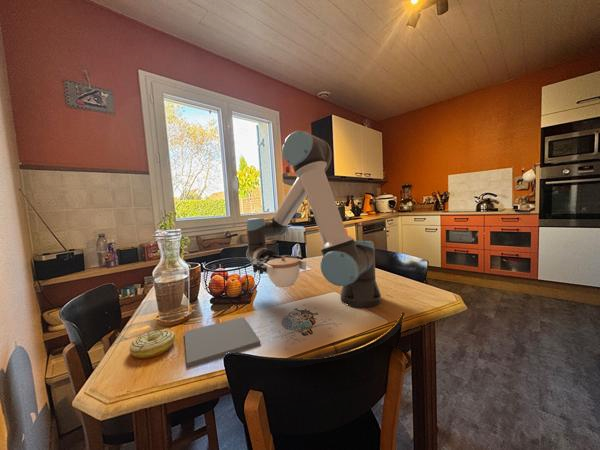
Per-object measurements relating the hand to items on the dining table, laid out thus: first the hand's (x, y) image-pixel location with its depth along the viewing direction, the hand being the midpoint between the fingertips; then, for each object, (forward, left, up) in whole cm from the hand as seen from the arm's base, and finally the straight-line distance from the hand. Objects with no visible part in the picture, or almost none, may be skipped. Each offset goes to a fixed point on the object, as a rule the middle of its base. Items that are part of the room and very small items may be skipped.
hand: (288, 268), depth 75 cm
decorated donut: (+37, +11, -18) cm, 43 cm away
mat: (+20, +7, -18) cm, 28 cm away
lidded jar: (+2, -4, -6) cm, 8 cm away
